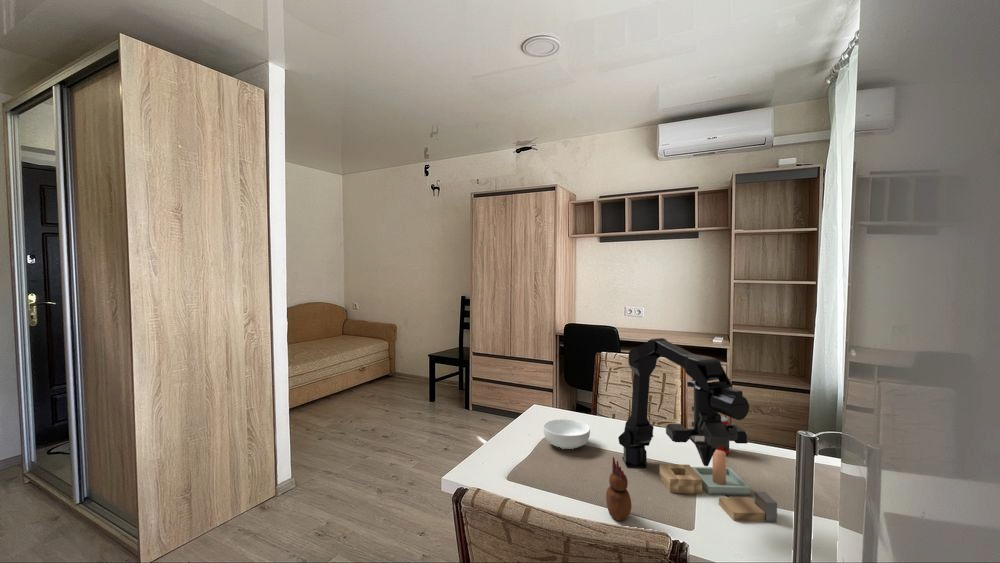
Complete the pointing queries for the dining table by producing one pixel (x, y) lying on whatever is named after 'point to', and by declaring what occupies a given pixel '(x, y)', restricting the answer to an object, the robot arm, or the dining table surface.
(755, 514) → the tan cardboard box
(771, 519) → the grey rectangular block
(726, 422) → the beverage can
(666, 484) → the socket block
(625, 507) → the wooden figurine
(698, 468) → the tray
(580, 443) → the cereal bowl
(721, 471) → the dowel
